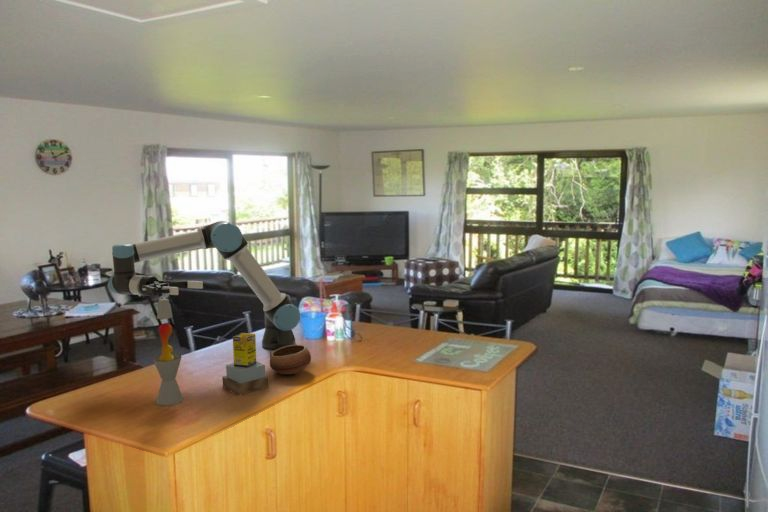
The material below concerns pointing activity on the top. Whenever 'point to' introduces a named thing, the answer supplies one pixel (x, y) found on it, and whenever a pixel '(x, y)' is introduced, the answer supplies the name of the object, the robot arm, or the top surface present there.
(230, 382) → the tower base slab
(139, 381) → the top surface
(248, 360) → the supplement box
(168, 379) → the lava lamp
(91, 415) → the top surface
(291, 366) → the bowl
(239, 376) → the tower top block
